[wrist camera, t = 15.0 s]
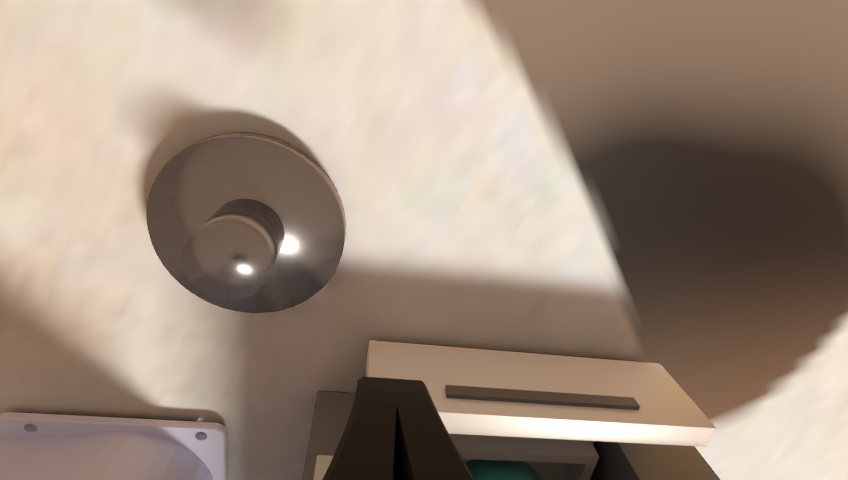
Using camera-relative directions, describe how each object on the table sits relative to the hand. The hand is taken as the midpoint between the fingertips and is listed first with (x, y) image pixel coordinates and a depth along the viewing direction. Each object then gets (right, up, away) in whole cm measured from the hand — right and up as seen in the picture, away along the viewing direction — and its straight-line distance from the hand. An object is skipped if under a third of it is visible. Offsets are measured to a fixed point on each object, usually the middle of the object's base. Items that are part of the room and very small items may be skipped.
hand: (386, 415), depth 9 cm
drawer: (+4, -9, +15) cm, 18 cm away
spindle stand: (-6, +4, +8) cm, 11 cm away
